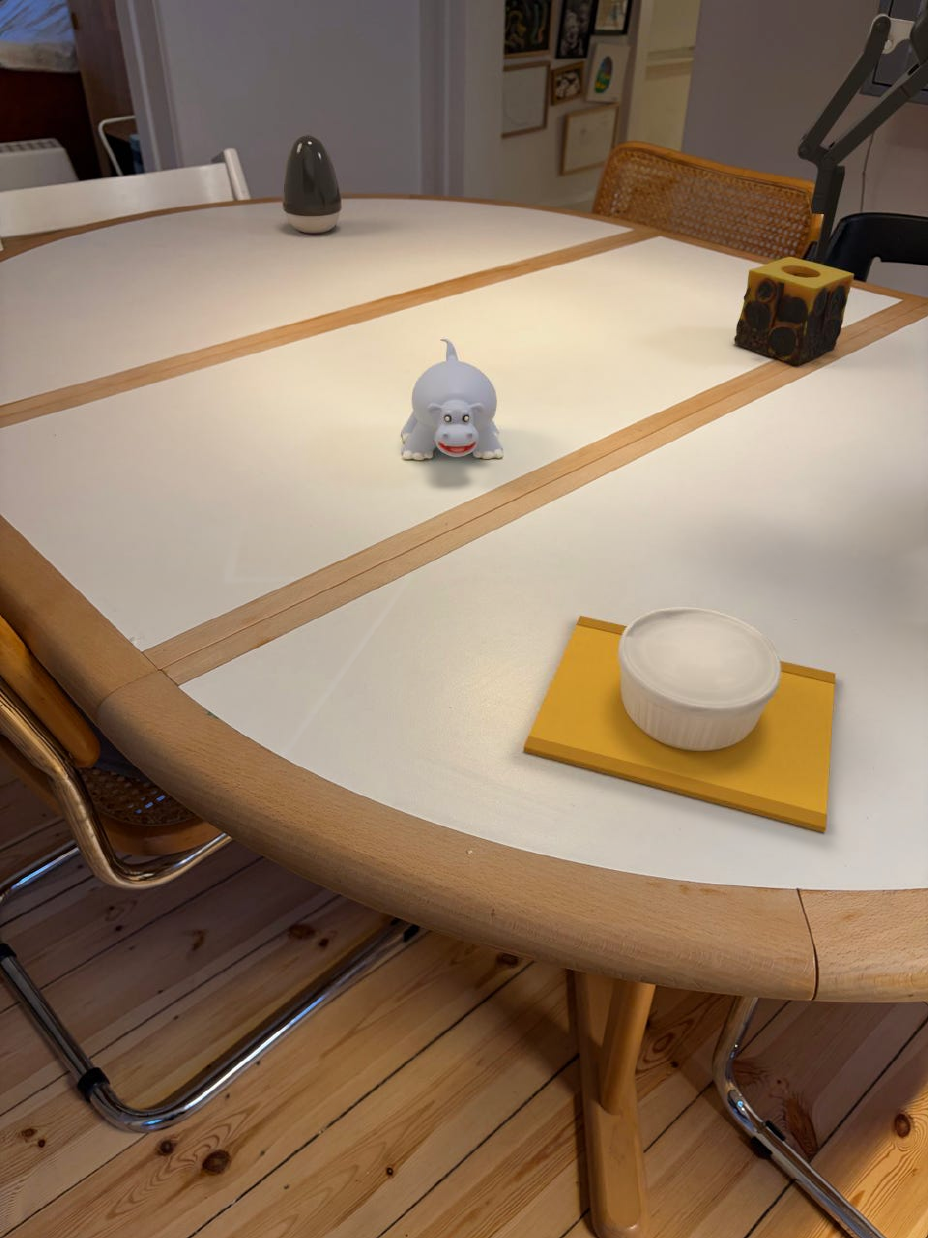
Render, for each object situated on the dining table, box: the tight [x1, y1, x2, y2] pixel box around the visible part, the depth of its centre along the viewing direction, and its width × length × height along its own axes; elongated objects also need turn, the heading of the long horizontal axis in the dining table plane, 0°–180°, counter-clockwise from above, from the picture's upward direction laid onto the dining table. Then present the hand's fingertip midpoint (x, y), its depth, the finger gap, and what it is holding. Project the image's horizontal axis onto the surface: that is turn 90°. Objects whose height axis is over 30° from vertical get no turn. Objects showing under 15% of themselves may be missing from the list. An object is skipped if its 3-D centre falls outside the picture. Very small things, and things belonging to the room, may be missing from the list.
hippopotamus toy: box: [400, 338, 504, 461], centre depth 97 cm, size 11×15×10 cm
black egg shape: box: [282, 133, 343, 235], centre depth 161 cm, size 10×10×15 cm
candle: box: [733, 256, 855, 366], centre depth 122 cm, size 10×10×10 cm
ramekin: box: [618, 606, 782, 751], centre depth 66 cm, size 11×11×5 cm
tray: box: [522, 615, 837, 833], centre depth 68 cm, size 20×16×1 cm
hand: (910, 265), depth 73 cm, fingers open, 13 cm apart
